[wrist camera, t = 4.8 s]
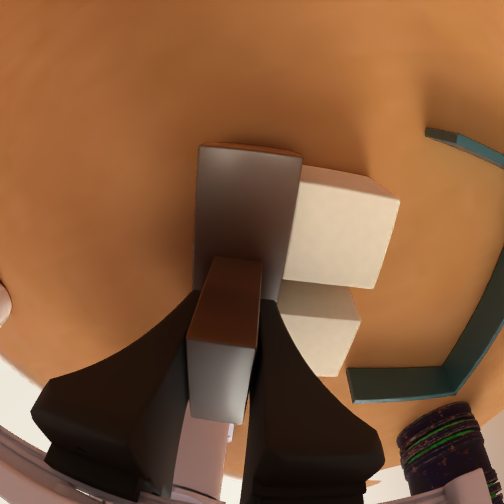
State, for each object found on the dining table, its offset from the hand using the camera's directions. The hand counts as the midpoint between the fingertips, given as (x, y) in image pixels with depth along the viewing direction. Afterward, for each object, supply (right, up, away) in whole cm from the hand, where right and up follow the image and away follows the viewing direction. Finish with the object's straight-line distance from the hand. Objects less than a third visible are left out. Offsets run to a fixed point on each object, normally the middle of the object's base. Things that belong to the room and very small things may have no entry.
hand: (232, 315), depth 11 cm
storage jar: (+22, -18, +13) cm, 31 cm away
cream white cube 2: (+4, +5, +3) cm, 7 cm away
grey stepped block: (0, +2, +4) cm, 4 cm away
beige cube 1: (+4, 0, +6) cm, 7 cm away
